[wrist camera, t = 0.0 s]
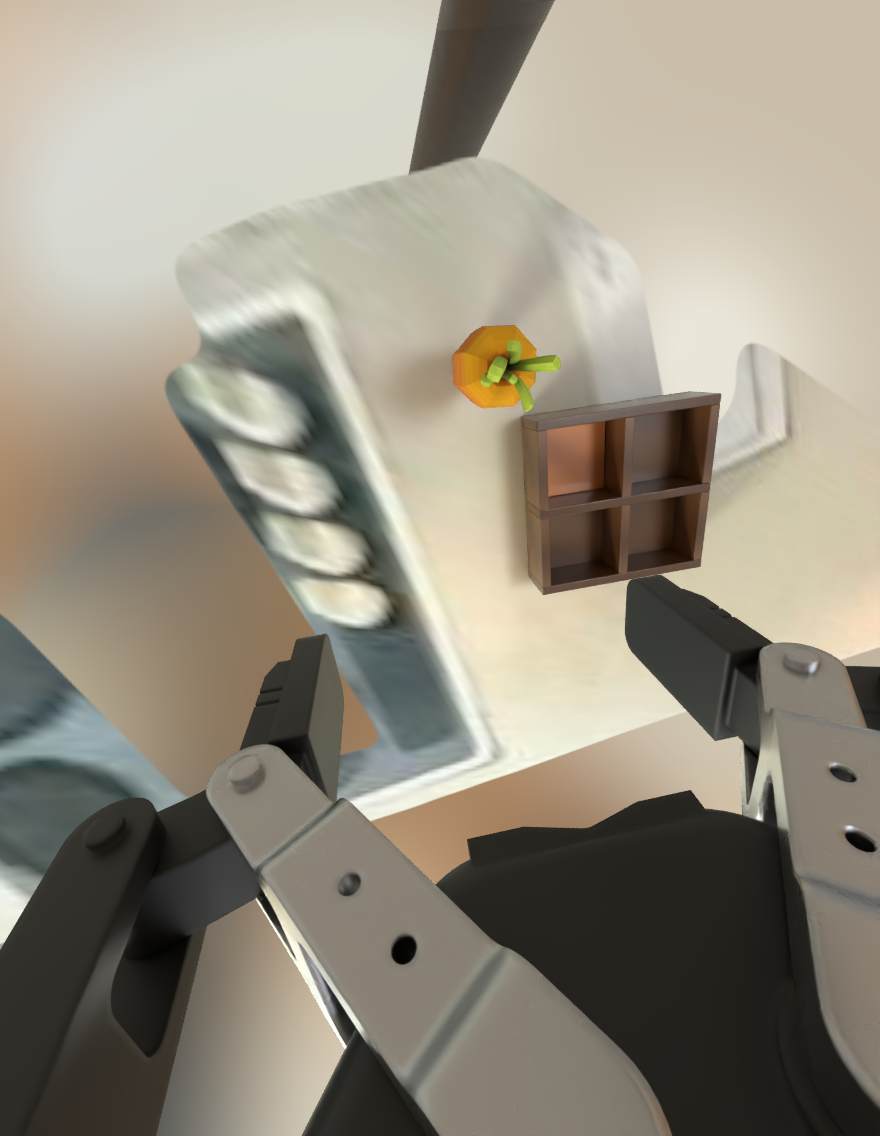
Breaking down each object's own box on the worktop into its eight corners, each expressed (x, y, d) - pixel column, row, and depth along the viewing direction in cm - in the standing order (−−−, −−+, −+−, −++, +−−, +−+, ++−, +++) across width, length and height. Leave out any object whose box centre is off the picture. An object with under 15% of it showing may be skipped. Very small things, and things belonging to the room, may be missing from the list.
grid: (520, 416, 39) (536, 420, 35) (689, 391, 40) (721, 393, 37) (528, 577, 45) (542, 595, 42) (674, 551, 47) (700, 566, 43)
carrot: (505, 348, 37) (585, 334, 23) (483, 409, 38) (545, 430, 25) (448, 324, 36) (497, 294, 22) (428, 388, 37) (461, 398, 24)
